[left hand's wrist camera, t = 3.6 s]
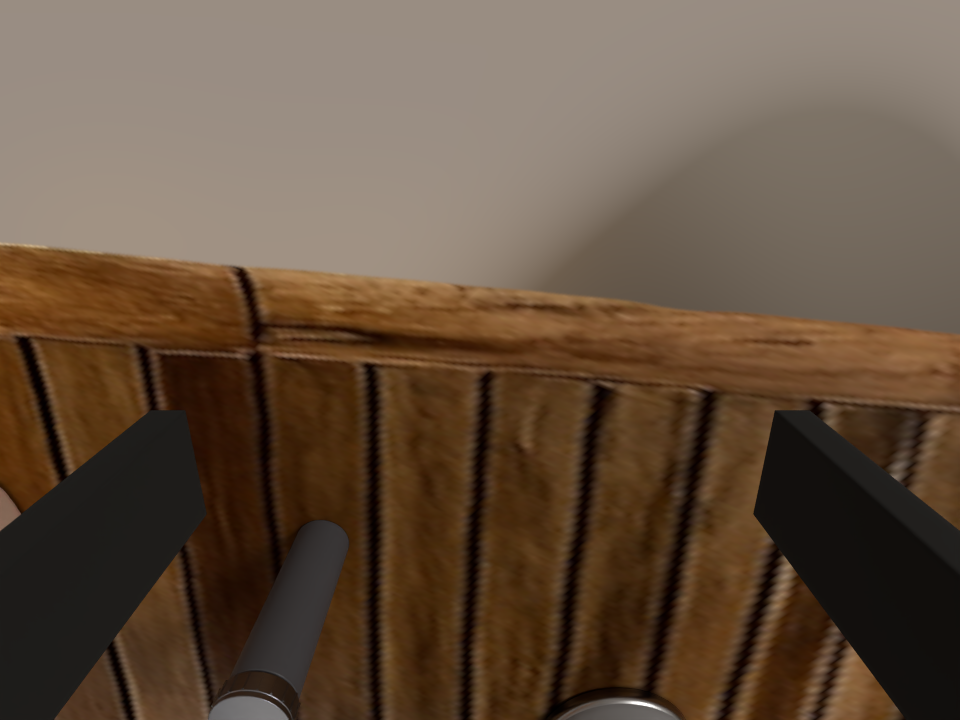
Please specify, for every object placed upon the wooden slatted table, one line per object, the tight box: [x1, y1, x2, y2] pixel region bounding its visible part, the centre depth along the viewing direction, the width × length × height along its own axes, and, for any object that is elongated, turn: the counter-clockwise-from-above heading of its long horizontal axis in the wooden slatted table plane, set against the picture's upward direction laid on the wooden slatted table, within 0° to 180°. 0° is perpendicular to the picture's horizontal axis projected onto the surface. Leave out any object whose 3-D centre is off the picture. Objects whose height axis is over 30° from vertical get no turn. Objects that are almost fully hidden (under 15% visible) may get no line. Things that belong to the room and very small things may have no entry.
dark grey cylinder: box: [229, 520, 349, 698], centre depth 40 cm, size 4×4×16 cm
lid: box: [208, 671, 300, 720], centre depth 33 cm, size 5×5×2 cm
